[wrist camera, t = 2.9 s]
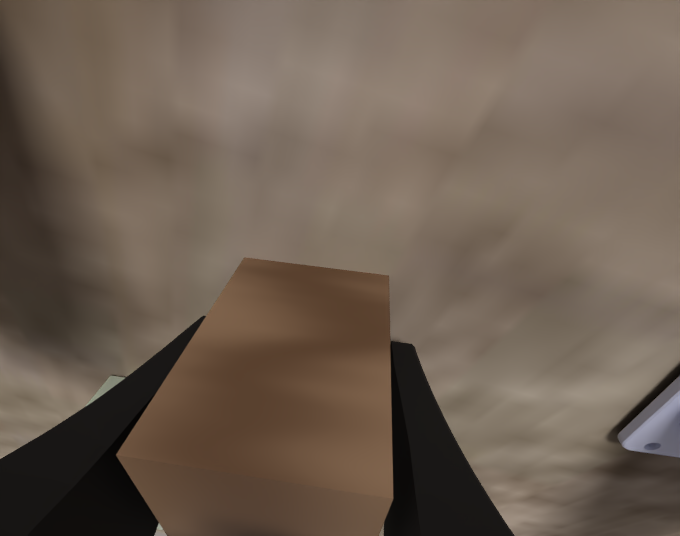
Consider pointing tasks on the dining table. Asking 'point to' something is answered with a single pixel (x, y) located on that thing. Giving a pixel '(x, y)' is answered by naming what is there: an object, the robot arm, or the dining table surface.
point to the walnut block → (275, 411)
